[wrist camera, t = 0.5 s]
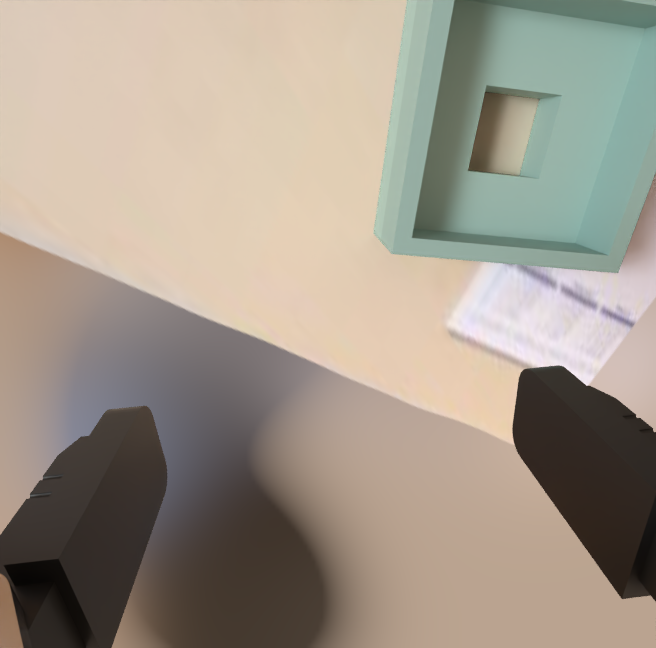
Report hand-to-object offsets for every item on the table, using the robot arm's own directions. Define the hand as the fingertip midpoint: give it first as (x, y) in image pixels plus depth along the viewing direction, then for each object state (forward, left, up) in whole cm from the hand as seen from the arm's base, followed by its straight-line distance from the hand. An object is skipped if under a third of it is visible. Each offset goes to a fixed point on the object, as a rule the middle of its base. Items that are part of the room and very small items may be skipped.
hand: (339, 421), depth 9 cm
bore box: (-8, +15, -28) cm, 32 cm away
